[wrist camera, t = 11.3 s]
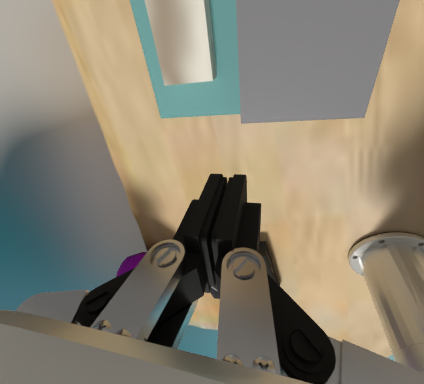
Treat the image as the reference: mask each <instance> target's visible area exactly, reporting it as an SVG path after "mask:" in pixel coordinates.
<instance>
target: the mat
mask: <svg viewBox="0 0 424 384" xmlns="http://www.w3.org/2000/svg"><path fill="white" fill-rule="evenodd" d="M130 3H131V6H132V10H133V14H134V18H135V22H136V25H137V29H138V33H139V37H140V41H141V44H142V48H143V52H144V56H145V59H146V63H147V67H148V71H149V75H150V78H151V82H152V86H153V90H154V93H155V97H156V101H157V105H158V109H159V112H160V116H161V118H176V117H193V116H211V115H228V114H241V109H240V86H239V62H238V39H237V15H236V0H209V3H210V13H211V23H212V32H213V42H214V52H215V62H216V72H217V77H216V78H215V79H214V80H213V81H206V82H196V83H186V84H176V85H166V86H165V85H164V81H163V77H162V72H161V68H160V64H159V60H158V55H157V51H156V47H155V43H154V38H153V34H152V30H151V26H150V21H149V17H148V13H147V9H146V5H145V0H130Z"/></svg>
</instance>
